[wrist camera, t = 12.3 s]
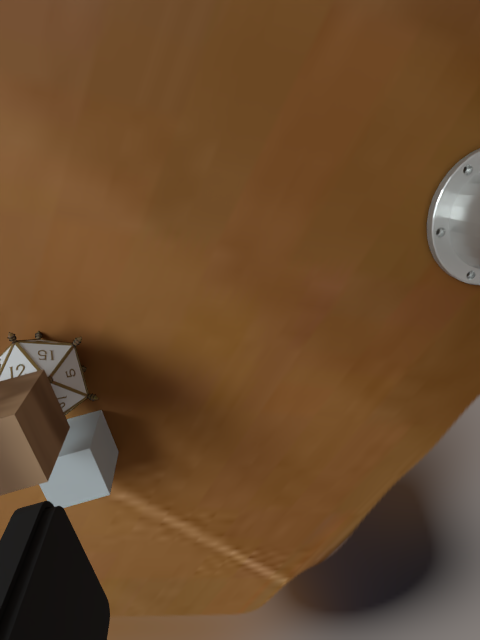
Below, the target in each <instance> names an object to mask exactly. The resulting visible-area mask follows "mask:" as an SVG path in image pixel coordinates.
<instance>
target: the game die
mask: <svg viewBox="0 0 480 640" xmlns="http://www.w3.org/2000/svg"><path fill="white" fill-rule="evenodd" d="M35 337H36V339H31V340H16V336H15V334H12V333H10V332H9V335H8V338H9V341H11V342H12V344H11V345H10V346H9V347H8V348H7V349H6V350H5V351H4V352H3V353H2V354H1V355H0V381H3V380H7V379H10V378H14V377H18V376H21V375H25V374H29V373H32V372H36V371H40V370H43V369H44V370H45V373H46V375H47V377H48V379H49V381H50V384H51V386H52V388H53V390H54V393H55V395H56V397H57V399H58V401H59V404H60V406H61V408H62V410H63V413H64V415H66V414H68V413H69V412H70V411H71V410H73V409H74V408H75V407H76V406H78V405H79V404H80V403H82V402H83V401H84V400H85V399H87V398H89V399H90V400H93V401H94V400H97V399H99V398H98V397H97V396H96V394H95V395H93V394H89V393H88V389H87V386H86V382H85V378H84V375H83V372H85V370H86V369H87V368H86V367H84V366H82V367H81V364H80V360H79V357H78V353H77V350H76V345H79V343H81V338H82V337H79V338H75V340H73V341H74V342H73V343H72V344H71V343H64V342H57V341H50V340H43V339H41V338H42V334H41V333H40V332H39V331H38V332H37V333H36V334H35Z"/></svg>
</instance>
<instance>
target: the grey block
mask: <svg viewBox="0 0 480 640" xmlns="http://www.w3.org/2000/svg"><path fill="white" fill-rule="evenodd" d="M67 421H68V424H69V426H70V429H69V431H68V434H67V436H66V438H65V441H64V443H63V446H62V448H61V451H60V453H59V456H58V458H57V461H56V463H55V465H54V468H53V470H52V473H51V475H50V478H49V480H48V482H45V483H42V484H39V485H40V487H41V489H42V491H43V493H44V495H45V497H46V499H47V501H50V502H51V503H52V504H53V505H54V507H56V506H61V507H63V508H65V507H69V506H72V505H76V504H79V503H83V502H86V501H90V500H93V499H97V498H100V497H104V496H107V495H110V492H111V487H112V482H113V477H114V472H115V467H116V462H117V457H118V449H117V447H116V444H115V442H114V439H113V437H112V435H111V432H110V430H109V427H108V425H107V422H106V420H105V417H104V415H103V412H102V410H99V411H96V412H92V413H88V414H85V415H81V416H77V417H74V418H70V419H67Z"/></svg>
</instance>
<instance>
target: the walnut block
mask: <svg viewBox="0 0 480 640" xmlns="http://www.w3.org/2000/svg"><path fill="white" fill-rule="evenodd" d="M69 429H70V426H69V424H68V421H67V419H66V417H65V415H64V413H63V410H62V408H61V406H60V404H59V401H58V399H57V397H56V395H55V393H54V390H53V388H52V386H51V384H50V381H49V379H48V377H47V375H46V373H45V370H44V369H43V370H40V371H36V372H32V373H29V374H25V375H21V376H18V377H14V378H10V379H7V380H3V381H0V495H3V494H7V493H10V492H14V491H17V490H21V489H24V488H28V487H31V486H35V485H38V484H42V483H45V482H48V480H49V478H50V475H51V473H52V470H53V468H54V465H55V463H56V461H57V458H58V456H59V453H60V451H61V448H62V446H63V443H64V441H65V438H66V436H67V434H68V431H69Z"/></svg>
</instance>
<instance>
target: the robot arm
mask: <svg viewBox="0 0 480 640" xmlns="http://www.w3.org/2000/svg"><path fill="white" fill-rule="evenodd" d="M463 170H464V171H463ZM436 231H437V232H436ZM427 238H428V243H429V248H430V251H431V253H432V255H433V257H434V259H435V261H436V262H437V264H438V265H439V266H440V268H441V269H442V270H444V271H445V272H446V273H447V274H448V275H450V276H452V277H454V278H456V279H458V280H460V281H462V282H465V283H468V284H474V285H480V148H479V149H477V150H475V151H473V152H471V153H470V154H468V155H467V156H465V157H464V158H463V159H461V160H460V161H459V162H458V163H457V164H456V165H455V166H454V167H453V168H452V169H451V170H450V171H449V172H448V173H447V175H446V176H445V177H444V179H443V180H442V181H441V183H440V185H439V186H438V188H437V190H436V192H435V194H434V196H433V199H432V202H431V205H430V208H429V213H428V219H427ZM109 620H110V609H109V603H108V600H107V597H106V595H105V593H104V591H103V589H102V587H101V585H100V583H99V580H98V578H97V576H96V574H95V572H94V570H93V568H92V566H91V564H90V562H89V560H88V558H87V556H86V554H85V552H84V550H83V547H82V545H81V543H80V541H79V539H78V537H77V535H76V533H75V531H74V529H73V527H72V525H71V523H70V521H69V519H68V517H67V514H66V512H65V510H64V509H63V507H61V506H56V507H54V505H53V504H52V503H51V502H50V501H44V502H41V503H37V504H34V505H30V506H26V507H23V508H19V509H17V510H16V511H15V512H14V513H13V515H12V517H11V519H10V521H9V523H8V525H7V528H6V530H5V532H4V534H3V536H2V538H1V540H0V640H107V634H108V628H109Z"/></svg>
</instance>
